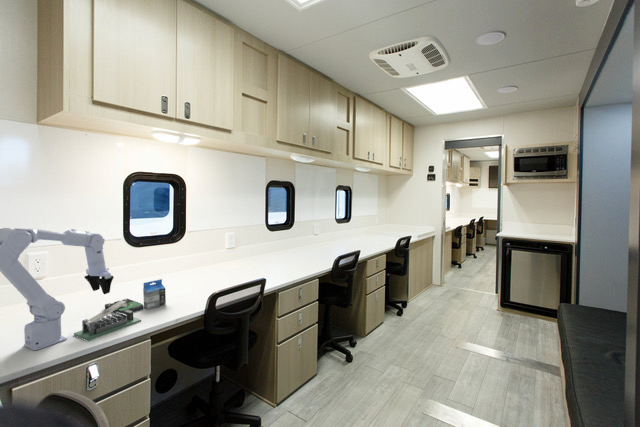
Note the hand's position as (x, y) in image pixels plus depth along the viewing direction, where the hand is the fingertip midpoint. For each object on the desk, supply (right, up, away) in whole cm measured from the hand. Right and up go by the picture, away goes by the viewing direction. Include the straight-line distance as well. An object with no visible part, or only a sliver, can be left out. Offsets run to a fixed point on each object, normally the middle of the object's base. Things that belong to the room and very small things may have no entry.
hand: (101, 291), depth 126 cm
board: (+7, -14, -5) cm, 16 cm away
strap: (+7, -8, -6) cm, 12 cm away
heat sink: (+6, -13, -6) cm, 16 cm away
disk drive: (0, -13, +15) cm, 20 cm away
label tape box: (+12, -12, +19) cm, 26 cm away
